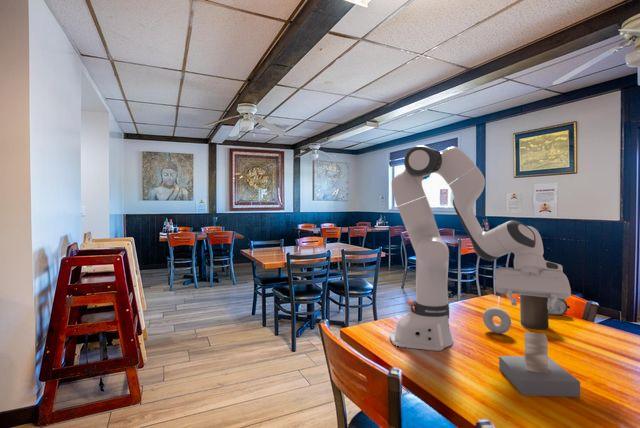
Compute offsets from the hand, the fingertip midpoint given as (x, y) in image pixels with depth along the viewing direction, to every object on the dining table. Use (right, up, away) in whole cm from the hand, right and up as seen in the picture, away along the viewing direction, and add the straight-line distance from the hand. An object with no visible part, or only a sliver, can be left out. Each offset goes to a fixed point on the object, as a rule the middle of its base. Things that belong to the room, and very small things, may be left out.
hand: (532, 306), depth 101 cm
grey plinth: (-4, -19, -8) cm, 21 cm away
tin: (+37, -17, +47) cm, 63 cm away
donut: (+4, -18, +27) cm, 33 cm away
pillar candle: (+23, -17, +34) cm, 44 cm away
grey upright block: (-4, -15, -8) cm, 17 cm away
